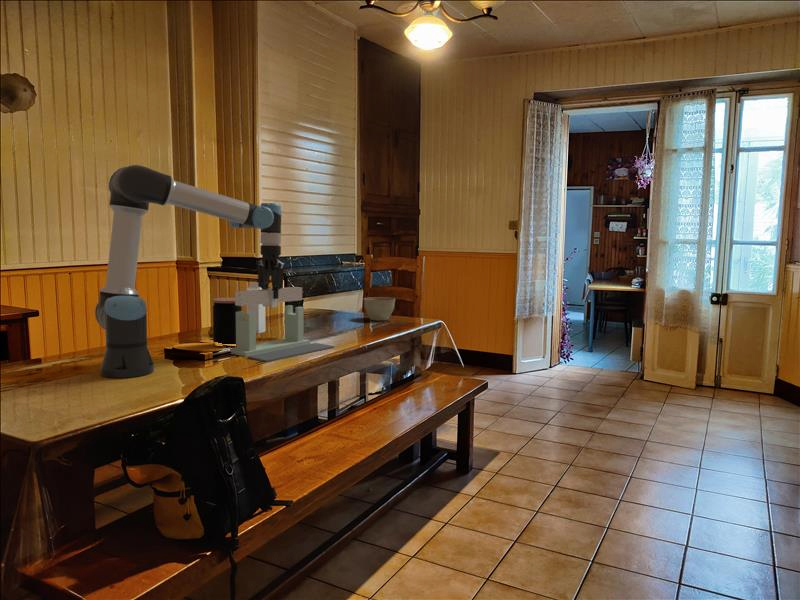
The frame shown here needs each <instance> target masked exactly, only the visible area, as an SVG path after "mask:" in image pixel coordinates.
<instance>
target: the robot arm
mask: <svg viewBox="0 0 800 600" xmlns="http://www.w3.org/2000/svg"><path fill="white" fill-rule="evenodd" d="M108 189H109V195H110V196H109V205H108V206H109V207H110V208H111V210H112V211H113V215H112V225H111V226H112V227H111V233H110V234H111V236H110V242H109V243H110V244H109V252H108V253H109V254H108V261H107V262H108V263H107V271H106V272H107V273H106V280H105V285H104V286H103V287H101V288H100V290H99V295H98V302H97V304H96V306H95V310H94V315H95V316H94V317H95V320H96V321H97V324H99V326H100V327H101V328H102V329H103V330H104V331H105V345H106V346H105V347H106V348H105V349H106V350H105V352H104V355H103V360H102V363H101V366H100V375H101V377H102V376H103V377H105V378H112V379H113V378H114V379H116V378H117V379H123V378H125V379H126V378H136V377H141V376H142V377H143V376H146V375H149V374H152V373H153V372H154V371H155V364H154V360H153V358H152V355H151V354H150V350H149V348H148V347H149V346H148V325H147V324H148V323H147V322H148V319H147V316H148V315H147V312H148V307H147V303H146V300H145V299H144V298H142V297H139V296H140V293H139V291H137V289H136V288H135V287H136V277H137V269H138V261H139V252H140V251H139V250H140V242H141V233H142V232H141V231H142V223H143V217H144V215H145V214H147V213H148V212H149V206H150V204H156V205H160V206H166V205H168V204H169V205H172V206H176V207H179V208H182V209H187V210H190V211H194V212H197V213H200V214H205V215H207V216H208V215H209V216H212V217H216V218H219V219H223V220H227V222H228V225H229V226H230V227H231V228H236V229H260V233H259V234H260V238H259V239H260V241H259V242H260V244H261V245H260V246H259V247H260V256H261V259H260V260H257V261H256V266H257V282H258V286H259V287H261V288H262V289H271V303H268V304H263V306H264V307H265V308H266V307H270V308H278V303H279V302H278V291H279V289H282V288H284V272H285V271H284V270H285V266H286V263H285V262H282V261H281V260H280V256H281V255H282V247H281V243H282V216H283V215H282V206H281V204H279V203H276V202H262V203H261V204H260V205H257V204H253V203H249V202H246V201H243V200H239V199H237V198H233V197H230V196H226V195H223V194H221V193H218V192H217V193H216V192H213V191H210V190H207V189H205V188H204V189H203V188H200V187H198V186H193V185H190V184H187V183H184V182H180V181H177V180H175V179H174V178H173V177H172V176H171V175H170V174H169V175H168V174H165V173H163V172H160V171H157V170H154V169H152V168H149V167H146V166H144V165H139V164H132V165H131V164H130V165H128V166H125V167H124V166H123V167H121V168H118V169H117V170H116V171H115V172H113V173H112V175H111V176H110V178H109V181H108ZM270 279H271V280H270ZM270 281H271V288H270V287H269V286H270ZM261 283H262V284H261ZM277 302H278V303H277Z"/></svg>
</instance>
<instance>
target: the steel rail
mask: <svg viewBox="0 0 800 600" xmlns="http://www.w3.org/2000/svg"><path fill="white" fill-rule="evenodd" d="M271 289H272V288H269V289H260V290H247V289H246V290H247V291H246V290H236V291H234V295H235V296H234V298H235V305H238V306H242V307H245V306H247V305H258V304H268V303H270V304H271ZM296 301H297V302H298V301H303V287H300V286H289V287H283V288H282V289H279V291H278V302H277V304H278V303H284V302H285V303H286V302H296Z"/></svg>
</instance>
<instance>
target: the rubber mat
mask: <svg viewBox="0 0 800 600" xmlns="http://www.w3.org/2000/svg"><path fill="white" fill-rule="evenodd" d="M334 348H335V346H334V345H329V344H324V343H318V342H313V343H310V344H307V345H302V346H297V347H292V348H287V349H282V350H277V351H272V352H267V353H262V354H257V355H252V356H247V359H249V360H255V361H260V362H264V363H269V362H270V363H271V362H275V361H279V360H283V359H288V358H293V357H296V356H301V355H306V354H312V353H316V352H321V351H324V350H325V351H326V350H329V349H334Z"/></svg>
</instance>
